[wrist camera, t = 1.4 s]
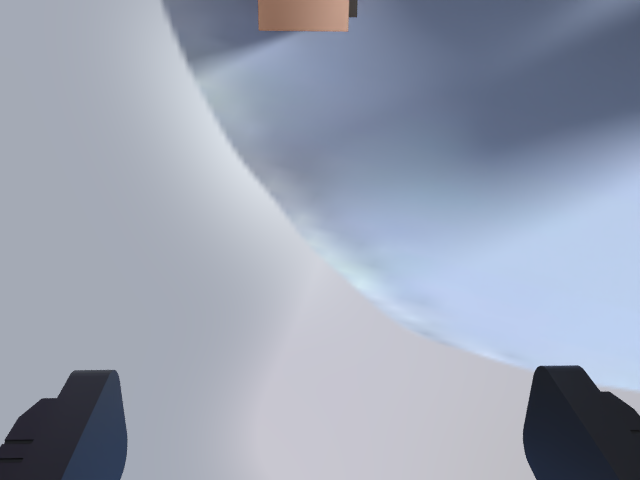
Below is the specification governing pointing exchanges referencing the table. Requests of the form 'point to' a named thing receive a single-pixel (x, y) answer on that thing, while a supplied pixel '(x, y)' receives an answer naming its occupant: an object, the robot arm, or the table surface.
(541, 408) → the robot arm
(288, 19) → the tall copper pillar
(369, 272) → the table surface
